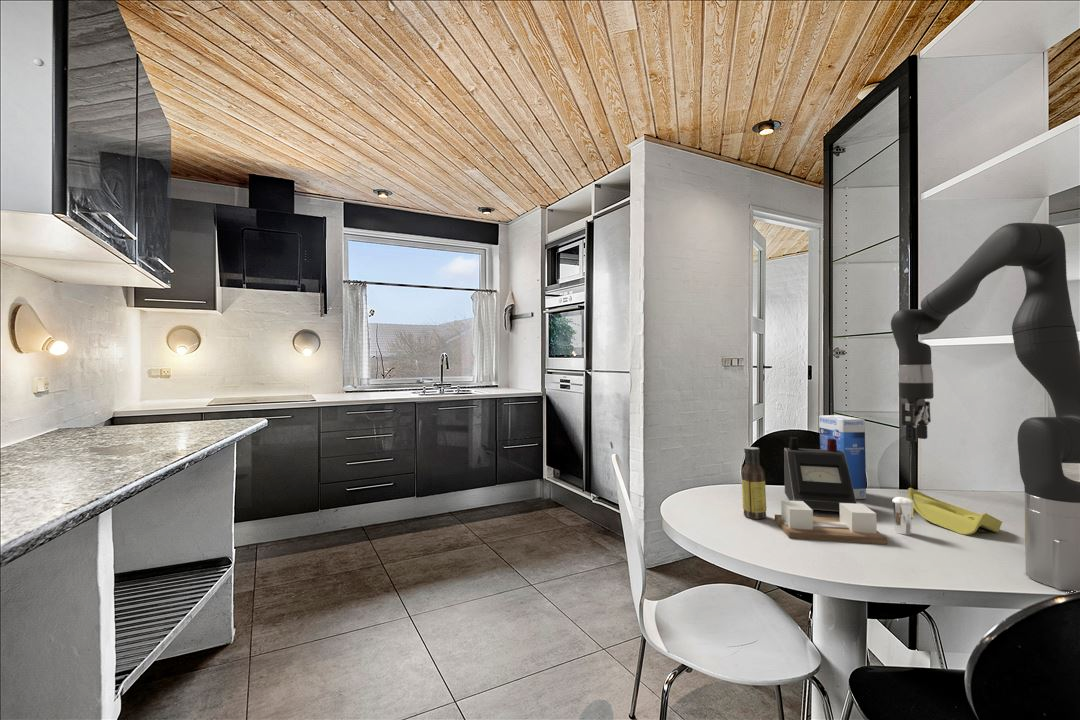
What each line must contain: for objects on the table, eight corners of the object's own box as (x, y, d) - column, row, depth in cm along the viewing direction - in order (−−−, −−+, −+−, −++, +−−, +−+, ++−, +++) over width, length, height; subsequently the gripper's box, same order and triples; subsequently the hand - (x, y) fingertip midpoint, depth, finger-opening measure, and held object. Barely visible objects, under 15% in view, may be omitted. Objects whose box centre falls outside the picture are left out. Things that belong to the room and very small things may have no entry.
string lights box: (867, 499, 152) (866, 419, 152) (844, 499, 152) (842, 419, 152) (840, 488, 166) (839, 414, 166) (819, 488, 165) (818, 414, 165)
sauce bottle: (769, 516, 138) (768, 447, 138) (761, 521, 133) (760, 450, 133) (747, 511, 142) (746, 445, 142) (738, 516, 138) (737, 448, 138)
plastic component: (1007, 524, 122) (981, 510, 120) (995, 550, 122) (970, 537, 120) (928, 497, 142) (905, 485, 139) (918, 519, 141) (895, 508, 139)
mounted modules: (876, 533, 119) (876, 513, 119) (789, 528, 124) (789, 509, 124) (862, 522, 127) (862, 504, 127) (781, 518, 131) (781, 500, 131)
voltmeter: (794, 512, 141) (793, 445, 141) (784, 497, 156) (783, 436, 156) (857, 518, 135) (856, 447, 135) (841, 501, 151) (840, 438, 151)
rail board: (887, 544, 116) (886, 536, 116) (789, 537, 121) (789, 530, 121) (861, 524, 130) (861, 517, 130) (774, 519, 135) (774, 513, 135)
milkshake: (909, 537, 120) (908, 498, 120) (888, 530, 125) (887, 492, 125) (922, 535, 121) (921, 496, 121) (901, 528, 126) (900, 491, 126)
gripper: (923, 382, 124) (925, 444, 124) (940, 380, 132) (942, 439, 132) (889, 381, 130) (891, 441, 130) (908, 380, 138) (909, 436, 138)
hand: (917, 440), depth 131 cm, fingers open, 8 cm apart
